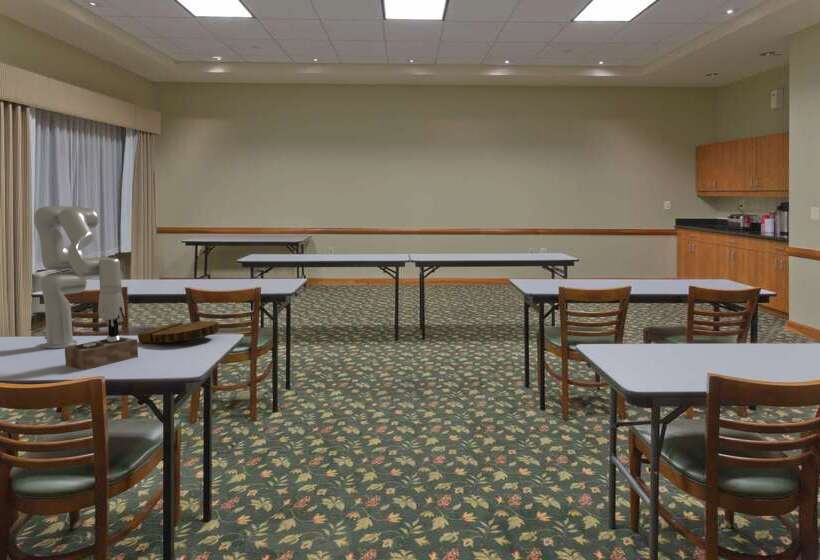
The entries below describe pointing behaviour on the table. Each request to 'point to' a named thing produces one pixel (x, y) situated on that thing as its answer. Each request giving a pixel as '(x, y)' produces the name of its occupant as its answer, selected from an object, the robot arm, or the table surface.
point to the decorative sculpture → (179, 332)
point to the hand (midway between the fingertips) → (113, 335)
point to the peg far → (113, 338)
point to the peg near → (89, 344)
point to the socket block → (100, 353)
